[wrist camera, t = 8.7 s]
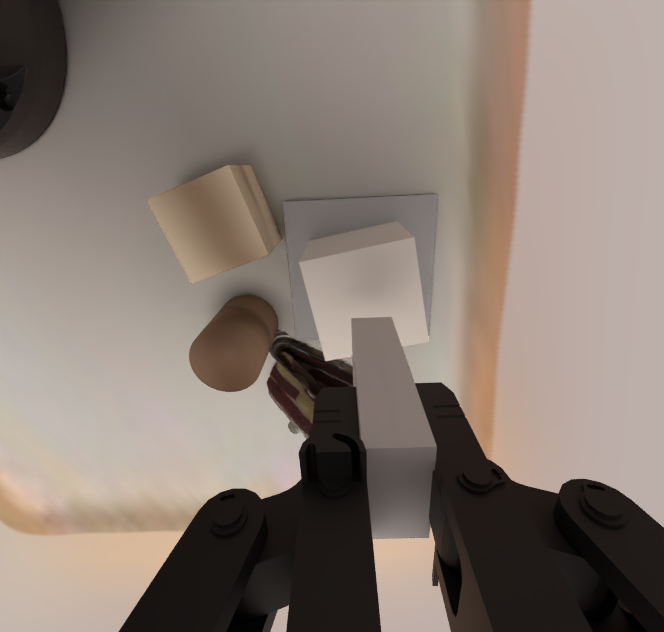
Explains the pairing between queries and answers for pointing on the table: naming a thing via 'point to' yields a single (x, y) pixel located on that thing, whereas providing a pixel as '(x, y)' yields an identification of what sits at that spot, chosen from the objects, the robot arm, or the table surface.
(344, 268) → the plain block
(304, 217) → the mat
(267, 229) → the beech cube
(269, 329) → the walnut cylinder
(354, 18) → the table surface
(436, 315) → the table surface
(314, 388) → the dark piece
